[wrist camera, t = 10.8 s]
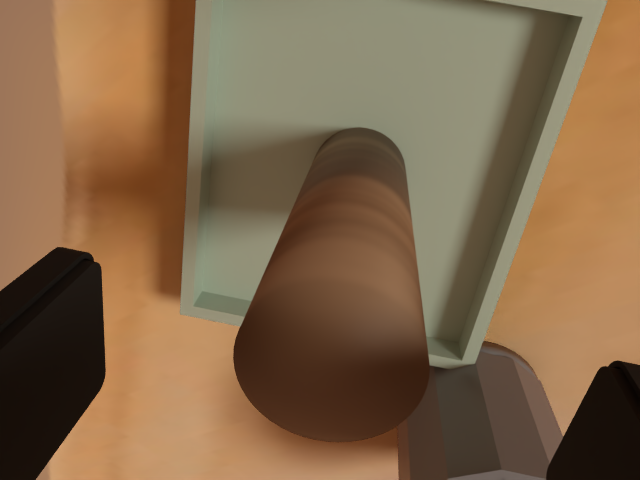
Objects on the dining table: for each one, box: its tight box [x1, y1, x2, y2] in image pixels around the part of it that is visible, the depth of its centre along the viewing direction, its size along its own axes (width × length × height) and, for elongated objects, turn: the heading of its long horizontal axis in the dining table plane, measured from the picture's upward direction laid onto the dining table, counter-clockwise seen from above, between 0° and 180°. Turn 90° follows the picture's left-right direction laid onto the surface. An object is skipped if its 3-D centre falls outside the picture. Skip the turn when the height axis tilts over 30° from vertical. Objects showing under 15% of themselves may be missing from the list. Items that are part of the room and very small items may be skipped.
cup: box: [397, 341, 563, 480], centre depth 24 cm, size 7×7×8 cm
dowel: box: [233, 127, 430, 442], centre depth 16 cm, size 4×4×13 cm
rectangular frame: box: [180, 0, 607, 369], centre depth 22 cm, size 16×14×2 cm
